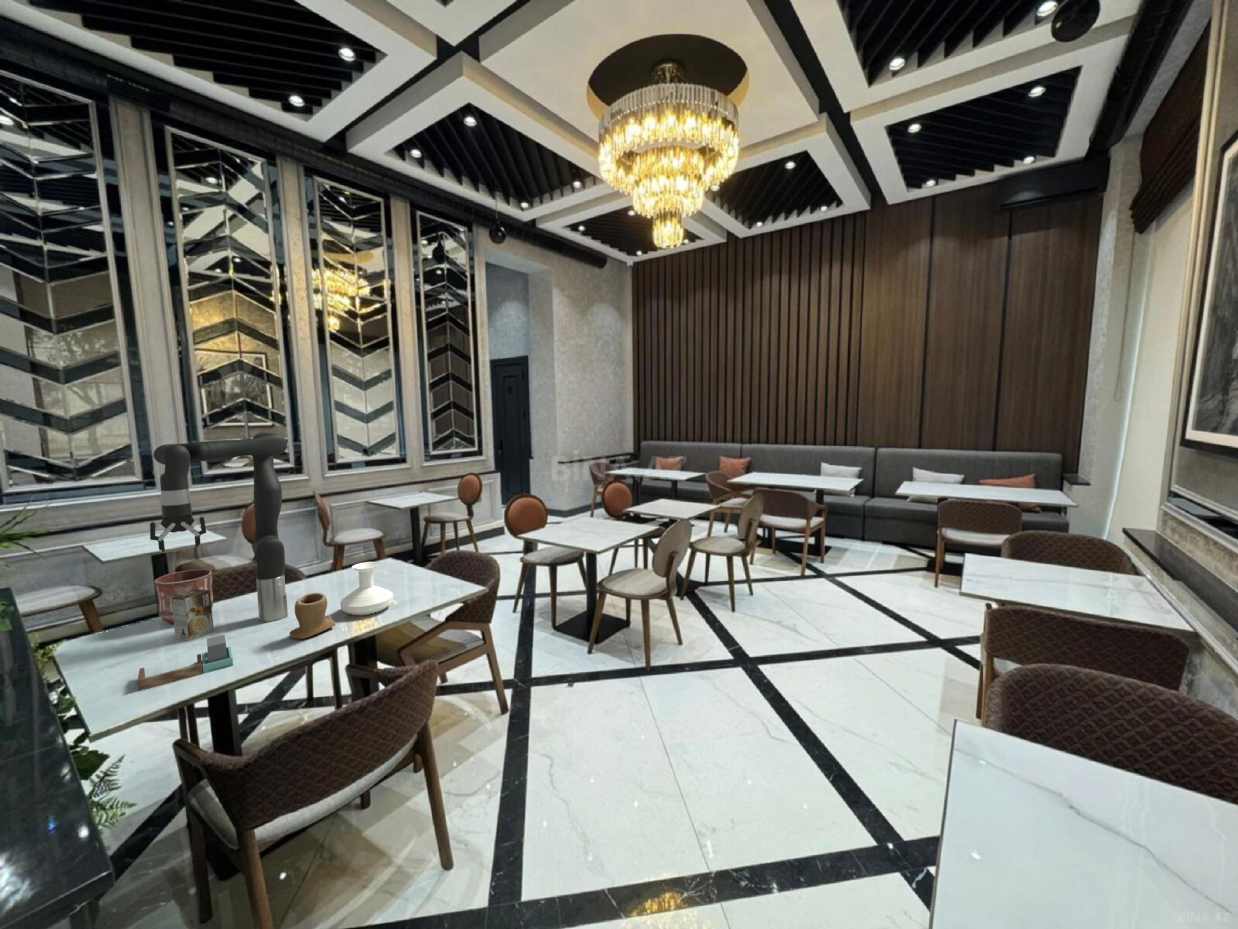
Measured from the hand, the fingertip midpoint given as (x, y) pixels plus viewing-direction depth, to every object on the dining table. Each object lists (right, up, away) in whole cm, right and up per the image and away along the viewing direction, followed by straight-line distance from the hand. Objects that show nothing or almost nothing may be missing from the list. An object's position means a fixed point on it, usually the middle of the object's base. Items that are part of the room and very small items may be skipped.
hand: (180, 548), depth 166 cm
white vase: (+45, -33, +38) cm, 67 cm away
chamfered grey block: (+19, -36, -7) cm, 41 cm away
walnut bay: (+11, -37, -15) cm, 41 cm away
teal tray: (+19, -37, -7) cm, 42 cm away
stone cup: (+37, -35, +16) cm, 53 cm away
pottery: (-23, -34, +29) cm, 50 cm away
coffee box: (-7, -35, +14) cm, 38 cm away
